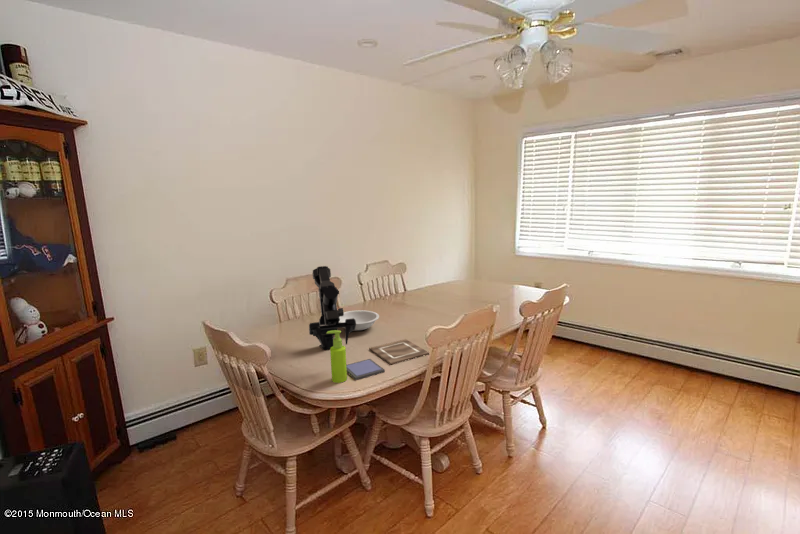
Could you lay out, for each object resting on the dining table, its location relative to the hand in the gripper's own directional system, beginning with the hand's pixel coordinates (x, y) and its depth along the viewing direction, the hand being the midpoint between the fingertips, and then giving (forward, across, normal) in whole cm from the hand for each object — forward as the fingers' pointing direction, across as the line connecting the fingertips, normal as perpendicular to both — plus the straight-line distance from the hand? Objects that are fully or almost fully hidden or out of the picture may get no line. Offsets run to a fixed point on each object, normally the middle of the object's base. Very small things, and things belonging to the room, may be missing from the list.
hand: (335, 345), depth 158 cm
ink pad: (+8, +11, +9) cm, 17 cm away
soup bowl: (-28, +18, +46) cm, 56 cm away
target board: (-1, +30, +18) cm, 35 cm away
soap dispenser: (+12, 0, +6) cm, 13 cm away
